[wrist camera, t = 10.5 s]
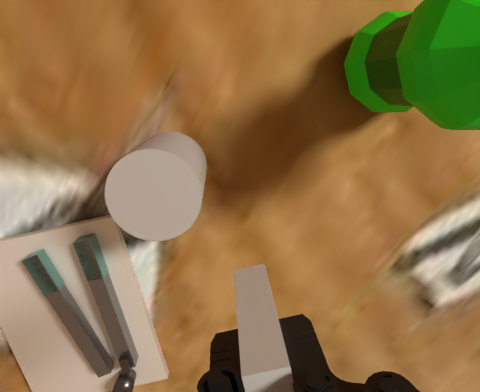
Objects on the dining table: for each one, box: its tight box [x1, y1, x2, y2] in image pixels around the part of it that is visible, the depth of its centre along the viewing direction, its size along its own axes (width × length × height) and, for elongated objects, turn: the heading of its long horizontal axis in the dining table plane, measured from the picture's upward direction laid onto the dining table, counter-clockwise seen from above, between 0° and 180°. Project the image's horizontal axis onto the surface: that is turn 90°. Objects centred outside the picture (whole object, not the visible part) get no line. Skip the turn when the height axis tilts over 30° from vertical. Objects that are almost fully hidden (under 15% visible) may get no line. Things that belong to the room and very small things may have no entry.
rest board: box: [0, 215, 169, 392], centre depth 46 cm, size 24×18×1 cm
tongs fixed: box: [72, 233, 139, 392], centre depth 45 cm, size 22×4×4 cm, turn 12°
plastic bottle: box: [344, 0, 480, 130], centre depth 28 cm, size 10×10×25 cm
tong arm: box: [21, 249, 115, 378], centre depth 44 cm, size 18×2×2 cm, turn 22°
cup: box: [105, 132, 207, 241], centre depth 36 cm, size 8×8×12 cm
